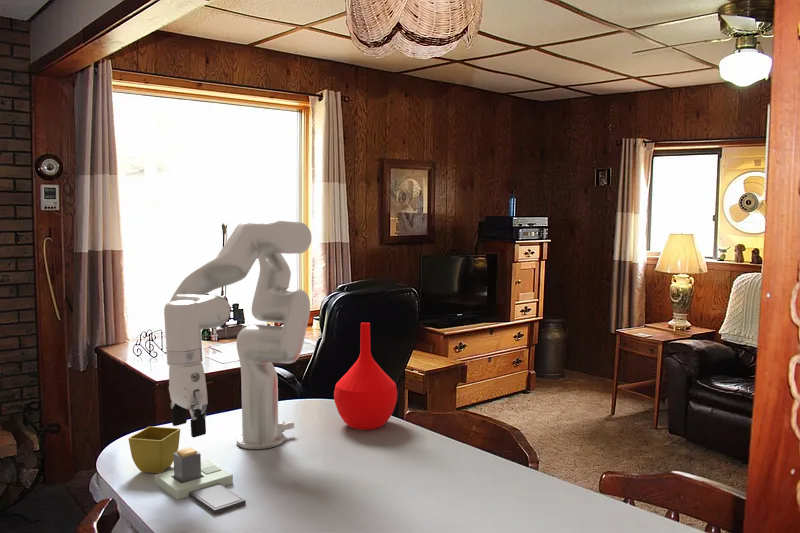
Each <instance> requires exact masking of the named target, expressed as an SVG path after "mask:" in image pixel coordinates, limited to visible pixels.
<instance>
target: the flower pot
mask: <svg viewBox="0 0 800 533" xmlns="http://www.w3.org/2000/svg"><path fill="white" fill-rule="evenodd" d="M180 436H181V428H178V427H177V428H176V427H165V426H164V427H163V426H147V427H146V428H144V429H142V430H141V431H139V432H137V433H135V434H133V435H131V436H130V437H128V444H129V449H130V456H131V458H132V461H133V463H134V465H135V466H136V468H137V469H138V470H139V471H140V472H141V473H149V474H160V473H163V472H165V471H166V470H167V469H168V468H170V467H171V466H172V464H174V456H173V453H176V452H177V450H179V448H180V447H179V446H180Z"/></svg>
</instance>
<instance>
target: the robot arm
mask: <svg viewBox="0 0 800 533" xmlns="http://www.w3.org/2000/svg"><path fill="white" fill-rule="evenodd" d="M234 228H235V229H234V230H233V232H232V233H231V234H230V236H229V238H228V239H227V241H226V243H225V244H224V246H222V249H220V252H219V253H218V254H217V255H216V257H215V258H214V259H212V260H210V261H207V263H205V264H203V265H202V266H200V267H199V268H197V269H195V270H194V271H192V272H191V273H189V275H187V276H186V277H184V278H183V280H182V281H181V283H180V284H179V286H178V287H177V289H175V291H174V293H173V295H172V296H171V298H170V301H169V302H167V303H166V304H165V306H164V308H163V311H164V312H163V317H164V331H165V334H164V336H165V346H166V363H167V366H168V385H169V386H168V392H169V400H170V401H171V403H170V408H171V420H172V421H171V422H172V426H174V427H178V426H180V425H184V424H186V423H187V422H188V420H187V410H188V411H189V413H190V416H191V419H189V420H190V434H191V437H192V438H198V437H201V436H205V435H206V433H207V426H206V425H207V424H206V417H207V412H208V410H207V406H208V401H209V400H208V399H209V398H208V389H207V382H206V380H207V379H206V375H205V369H204V365H203V359H204V358H203V346H202V345H203V344H202V331H203V330H207V329H216V328H219V327H221V326H223V325H224V324H225V323H226V322H227V321H228V320H229V318H230V315H231V305H230V303H229V301H228V300H226V298H224V297H223V296H220V295H215V294H209V293H210V292H212V291H214V290H217V289H221V288H224V287H226V286H230V285H233V284H235V283H238V282H240V281H242V280H243V279H245V278H246V277H247V275H248V274H249V272H250V271H251V269H252V267H253V265H254V263H255V262H256V260H258V263H259V274H258V279H257V282H256V286H255V290H254V295H253V298H252V299H253V300H252V304H251V313H252V314H251V315H252V316H253V318H254V319H256V320H257V321H261V322H264V323H265V322H266V323H275V324H283V326H279V325H278V326H277V325H267V324H265V325H264V324H251V325H248V326H244V327H243V328H242V329H241V330H240V331H239V333H238V334H237V335H236V336H237V337H236V350H237V356H238V359H239V365H240V378H241V382H240V383H241V421H242V422H241V423H242V424H241V425H242V429H241V430H242V434H240V435H238V437H237V438H236V445H237V446H238V447H240V448H242V449H247V450H265V449H270V448H275V447H277V446H279V445H282V444H283V443H284V442H285V439H286V438H285V435H284V432H285V431H286V430H287V431H288V430H293V429H295V423H294V422H293V421H289V422H286V423H285V421H279V388H278V385H279V383H278V382H279V380H278V379H279V378H278V373H277V370H276V367H275V366H274V364H273V363H275V364H276V363H277V364H292V363H295V362H296V361H297V360H298V359H299V358H300V355H301V353H302V351H303V346H304V342H305V339H306V338H305V337H306V331H307V329H308V323H309V319H310V314H311V300H310V298H309V295H308V293H307V291H305V290H303V289H301V288H296V287H289V286H290V280H291V275H292V273H291V269H290V266H289V264H288V262H287V261H286V259H285V257H284V256H283V254H284V255H285V254H286V255H287V254H289V255H290V254H291V255H292V254H303V253H306V251H307V250H308V249H309V248H310V246H311V244H312V233H311V230H310V228H309V226H308V225H307V224H306V223H304V222H302V221H289V220H288V221H287V220H280V219H279V220H276V219H248V220H244V221H241V222H240V223H239V224H238V225H236V227H234ZM195 410H196V411H195Z"/></svg>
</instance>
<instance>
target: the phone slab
mask: <svg viewBox="0 0 800 533" xmlns="http://www.w3.org/2000/svg"><path fill="white" fill-rule="evenodd" d="M189 498H190V499H192V500H193V501H194V502H196V503H197V504H199V505H200V506H201V507H203V508H204V509H206V510H207V511H208V512H209V513H211V514H213V515H214V516H215V515H219V514H223V513H225V512H228V511H232V510H234V509H237V508H240V507H242V506H246V501H247V500H246V499H244V498H242V497H241V496H239V495H238V494H237V493H235V492H233V491H232V490H230V489H229V488H227V487H225V486H222V485H221V484H219V483H218V484H214V485H211V486H208V487H204V488H201V489H198V490H194V491H191V492H189Z"/></svg>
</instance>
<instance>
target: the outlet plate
mask: <svg viewBox="0 0 800 533" xmlns="http://www.w3.org/2000/svg"><path fill="white" fill-rule="evenodd" d="M233 478H234V475H233V473H231V472H229V471H227V470H225V469H224V468H222V467H220V466H218V465H217V464H216V463H213V461H210V460H205V461H201V478H199V479H195V480H192V481H188V482H185V483H179V482H178V481H176V480H175V479H174V469H171V470H168V471H163V472H161V473H155V474H154V482H155V484H156V485H157V486H158V487H159V488H160V489H162V490H163V491H165V492H166V493H168V494H169V495H170V496H172V497H173V498H175V500H177V501H179V500H181V499H185V498H188V497H189V492H191V491H194V490H198V489H201V488H204V487H208V486H211V485H214V484H218V483H219V484H221V485H222V486H224V487H225V486H226V487H227V486H229V485H232V484H233V483H234V479H233ZM189 498H190V497H189Z"/></svg>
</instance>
